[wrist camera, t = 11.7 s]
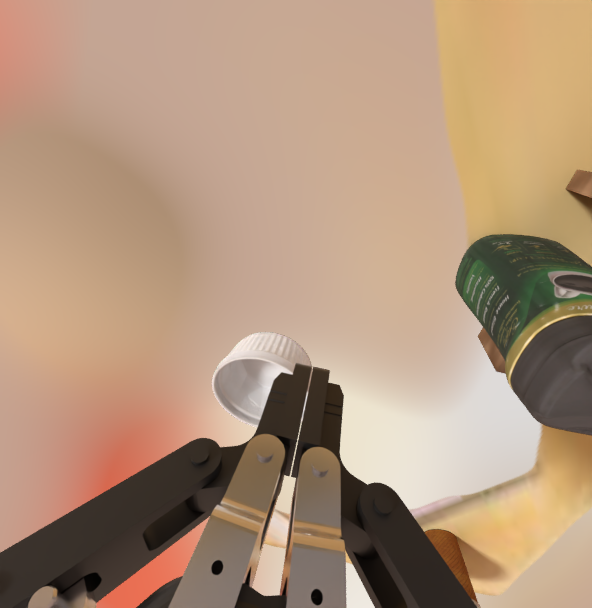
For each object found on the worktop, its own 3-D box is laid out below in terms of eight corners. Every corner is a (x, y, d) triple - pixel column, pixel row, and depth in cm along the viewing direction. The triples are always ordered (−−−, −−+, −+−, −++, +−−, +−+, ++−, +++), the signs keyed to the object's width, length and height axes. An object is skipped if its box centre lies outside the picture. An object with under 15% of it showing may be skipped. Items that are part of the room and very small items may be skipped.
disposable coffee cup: (470, 548, 61) (492, 633, 51) (421, 549, 64) (432, 628, 54) (458, 523, 57) (478, 610, 47) (407, 525, 61) (416, 606, 51)
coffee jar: (445, 295, 35) (512, 441, 19) (469, 227, 30) (582, 342, 15) (537, 307, 33) (691, 475, 18) (576, 238, 29) (823, 376, 13)
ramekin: (228, 379, 49) (209, 415, 43) (233, 313, 42) (211, 344, 36) (308, 401, 48) (301, 441, 42) (327, 337, 41) (321, 373, 35)
